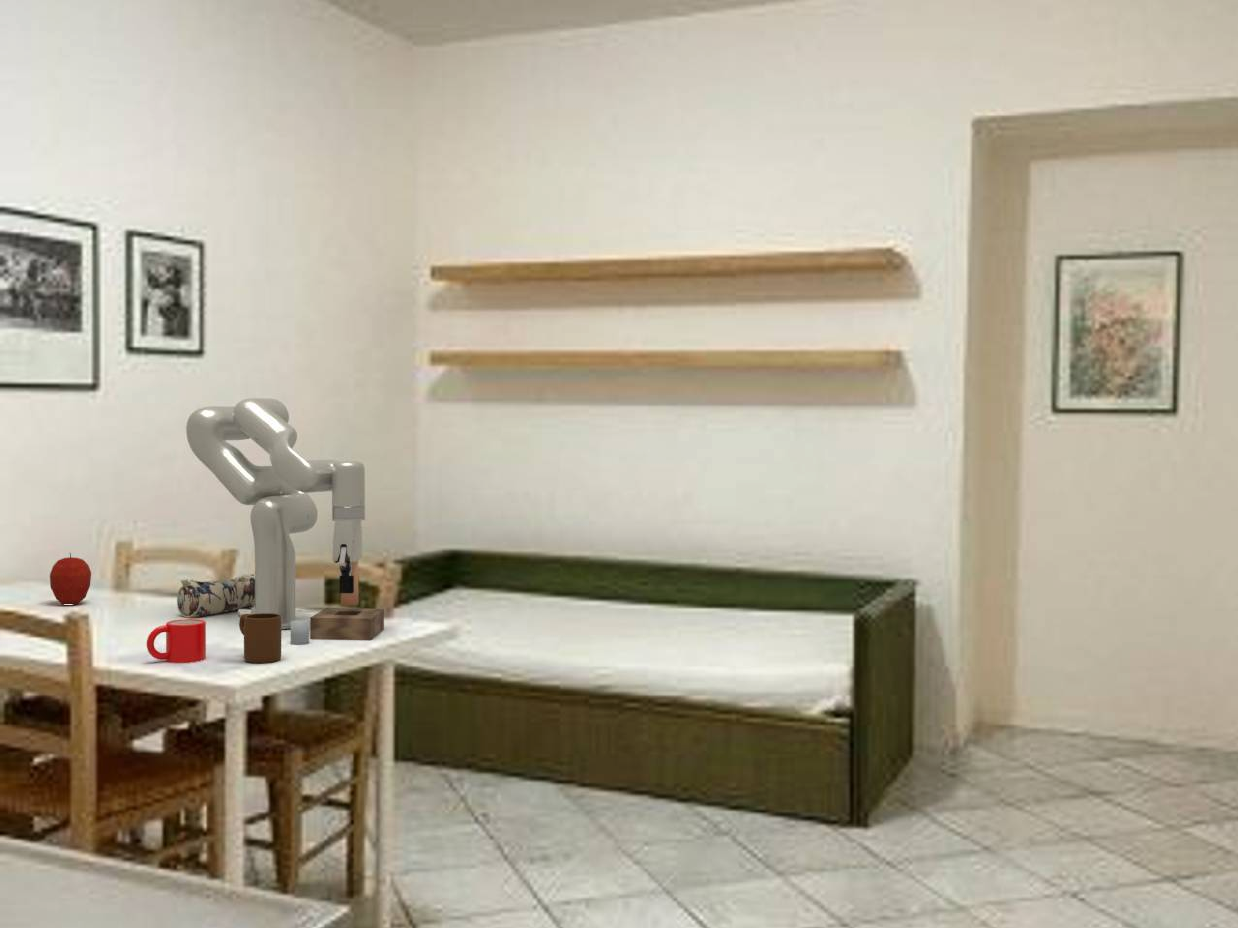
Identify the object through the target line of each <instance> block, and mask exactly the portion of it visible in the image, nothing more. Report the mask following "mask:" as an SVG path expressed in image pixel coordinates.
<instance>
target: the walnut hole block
mask: <svg viewBox="0 0 1238 928" xmlns="http://www.w3.org/2000/svg"><path fill="white" fill-rule="evenodd" d="M384 629H385V608H361V607H360V608H359V607H358V608H355V607H354V608H350V607H325V608H323V609H322V610H320V611H318V612H317V613H315V614H313V615H312V616H310V618H309V640H337V641H338V640H339V641H341V640H343V641H344V640H345V641H346V640H347V641H372V640H373V639H374V638H376V637H377V636H378V635H380V634H381V632H383V631H384Z"/></svg>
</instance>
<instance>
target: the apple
mask: <svg viewBox="0 0 1238 928" xmlns="http://www.w3.org/2000/svg"><path fill="white" fill-rule="evenodd" d="M91 580H92V571H91V569H90V565H89V564H88V563H87V562H86V561H85V560H84V559H82V558H80V557H72V553H71V552H69V557H62V558H61V559H58V560H57V561H56V562H55V563H54V565H53V566H52V567H51V571H50V574H49V582H50V585H49V586H50V589H51V591H52V593H53V596H54V598H55V599H56V600H57V602H59V603H60V604H61V603H62V604H76V605H78V603H79V604H80V603H81V602H82V601H83V600H84V599H85V598H86V597H87V595H88V592H89V589H90V587H91ZM62 604H61V605H62Z"/></svg>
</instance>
